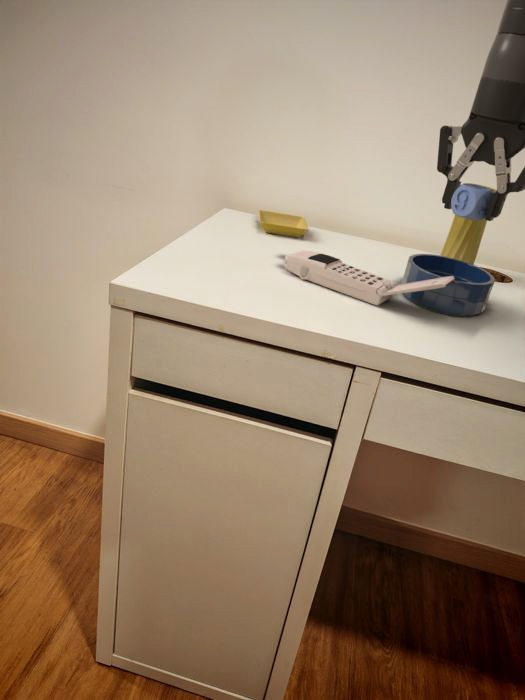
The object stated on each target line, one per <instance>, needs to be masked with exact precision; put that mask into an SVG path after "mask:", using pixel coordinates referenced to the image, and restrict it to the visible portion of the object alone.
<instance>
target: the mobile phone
mask: <svg viewBox="0 0 525 700" xmlns="http://www.w3.org/2000/svg"><path fill="white" fill-rule="evenodd" d="M283 266H284V268H285V269H286V270H287V271H289V272H291V273H293V274H295V275H296V276H298V277H299V278H300V279H301V280H307V281H309V282H310V283H311V282H312V283H314V284H316V285H319V286H322V287H325V288H328V289H330V290H334V291H335V292H338V293H341V294H344V295H346V296H349V297H351V298H355V299H357V300H360V301H363V302H366V303H369V304H371V305H374V306H379V305H381V304H382V303H385V302H386V301H388V300H389V299H391V297H392V296H393V295H400V294H403V293H408V292H415V291H423V290H430V289H436V288H442V287H446V286H448V285H449V284H451V283H452V282H453V281H454V280H455V279H454V276H448V277H441V278H436V279H430V280H424V281H418V282H412V283H406V284H397V283H396V282H395V281H394V280H393V281H392V280H390V279H387V278H385V277H382V276H379V275H376V274H374V273H371V272H368V271H366V270H364V269H361V268H358V267H356V266H353V265H351V264H348V263H346V262H343V261H342V260H341V258H338V257H335V256H332V255H329V254H325V253H321V252H318V251H313V250H306V249H305V250H299V251H295V252H292V253H289V254H286V255H285V256H284V263H283Z"/></svg>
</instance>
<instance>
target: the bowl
mask: <svg viewBox="0 0 525 700" xmlns="http://www.w3.org/2000/svg"><path fill="white" fill-rule="evenodd" d="M405 266H406V267H405V270H404V274H403V278H402V280H401V284H406V283H412V282H418V281H424V280H430V279H436V278H441V277H448V276H454V279H455V280H454V281H453V282H452V283H451V284H449V285H448V286H446V287H442V288H436V289H430V290H423V291H415V292H408V293H402V294H403V296H404V297H405V298H407V300H409V301H410V302H412V303H414V304H416V305H417V306H420V307H421V308H424V309H426V310H429V311H432V312H436V313H440V314H442V315H443V314H444V315H449V316H456V317H472V316H476V315H479V314H481V313H483V312H484V311H485V308H486V307H487V303H488V301H489V298H490V296H491V293H492V291H493V288H494V285H495V282H496V280H495V277H494V275H492V274H491V273H490V272H489V271H487V270H485V269H483V268H482V267H479V266H477V265H475V264H474V265H473V264H470V263H467V262H464V261H461V260H457V259H454V258H450V257H445V256H441V254H440V255H439V254H432V253H415V254H412V255H410V256H408V260H407V263H406V265H405Z"/></svg>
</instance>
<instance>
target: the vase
mask: <svg viewBox="0 0 525 700" xmlns="http://www.w3.org/2000/svg"><path fill="white" fill-rule="evenodd" d="M466 183H467V184H473V185H478V186H482V187H486V188H488V189H491V190H492V192H493V193H494V192H496V191H497V189H496V188H493V187H491V186H486V185H483V184H478V183H472V182H466ZM487 223H488V221H487V220H485V218H484V219H482V220H470V219H466V218H462V217H459V216H457V215H455V214H454V216H453V218H452V222H451V226H450V229H449V231H448V234H447V237H446V239H445V242H444V245H443V247H442V250H441V252H440V256H445V257H450V258H454V259H457V260H461V261H464V262H467V263H470V264H473V265H475V261H476V259H477V256H478V252H479V250H480V246H481V242H482V239H483V236H484V233H485V230H486V226H487Z"/></svg>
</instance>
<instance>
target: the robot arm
mask: <svg viewBox="0 0 525 700" xmlns="http://www.w3.org/2000/svg"><path fill="white" fill-rule="evenodd" d="M482 69H483V70H482V73H481V77H480V80H479V83H478V86H477V89H476V92H475V96H474V99H473V102H472V106H471V109H470V112H469V115H468V118H467V120H466V121H465V122H464V123H463V124H462V126H453V125H441V127H440V129H439V138H438V140H439V141H438V149H437V151H438V152H437V163H436V164H437V165H436V170H437V172H438V173H441V174H442V175H443V176H445V177H446V179H447V182H446V185H445V188H444V191H443V195H442V197H441V203H442V204H444V206H443V208H444V209H446V210H452V208H451V199H452V196H453V194H454V192H455V190H456V189H457V188H458V187H459V186H460V185H462V181H460V180H461V179H462V178H463V176H464V175H465V174H466V173H467V170H468V169H469V168H470V167H471V166H472V165H473V164H474V163H475V162H484V163H486V164H488V165H490V166H494V169H495V172H494V173H495V176H496V190H497V191H496V192H494V193H493V196H492V199H491V202H490V205H489V208H488V211H487V214H486V217H485V220H487V222H493V220H494V219H496V218H498V217H499V216H500V215H501V214H502V211H503V208H504V204H505V202H506V200H507V197H508V195H509V194H510V193H520V192H523V191H525V166H524V167H523V168H522V170H521V172H520V173H519V175H518V177H517V178H516V180H515V181H512V178H511V177H512V175H511V174H512V159H513V158H514V157H515V156H517V154H519V153H520V152H521V151H522V150H524V149H525V0H506V2H505V6H504V8H503V12H502V16H501V19H500V22H499V25H498V28H497V31H496V35H495V38H494V40H493V43H492V44H491V46H490V49H489V52H488V54H487V57H486V60H485V64H484V67H483V68H482ZM460 136H461V137H462V141H463V143H464V147H465V150H464V151H463V152H462V153H461V155H460V156H459V158H458V159H457V161H456V164H454V166H453V165H452V162H453V154H454V153H453V152H454V144H455V143H456V142H458V140H459V137H460Z"/></svg>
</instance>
